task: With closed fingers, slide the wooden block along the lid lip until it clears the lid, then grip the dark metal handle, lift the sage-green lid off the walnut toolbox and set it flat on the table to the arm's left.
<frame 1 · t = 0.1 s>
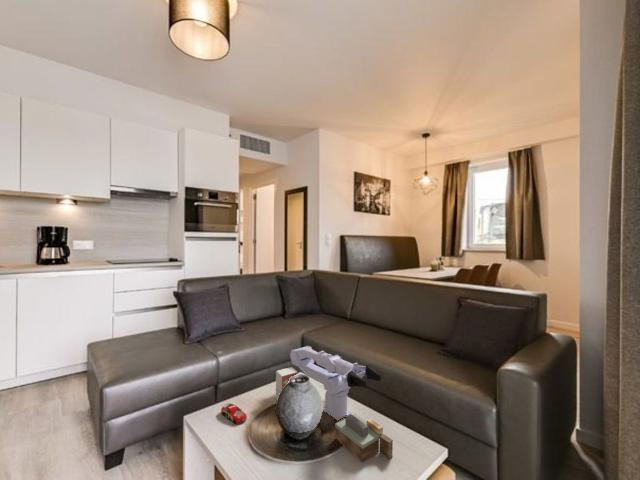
hand: (372, 381, 111), 22 cm above the table, tool horizontal, fingers open, 7 cm apart
small box: (286, 400, 137), on the table
toolbox: (356, 445, 108), on the table
race car: (233, 417, 124), on the table
wooden block: (374, 426, 108), point 7 cm above the table, slide at 0.0 cm
toolbox lid: (356, 435, 108), point 3 cm above the table, touching toolbox
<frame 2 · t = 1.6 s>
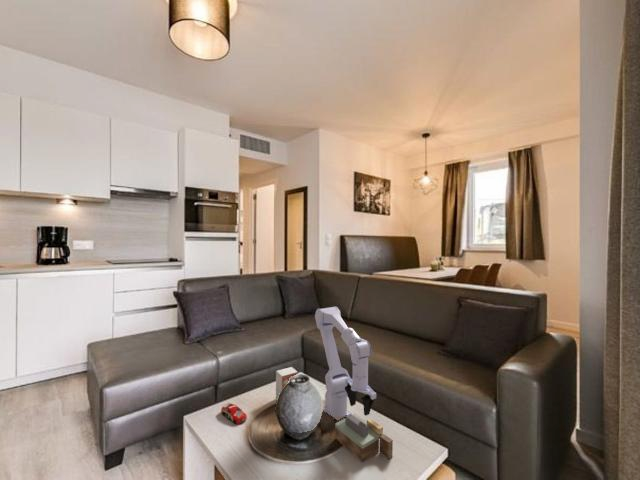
hand: (359, 409, 113), 9 cm above the table, tool pointing down, fingers open, 7 cm apart
nothing on the table moved.
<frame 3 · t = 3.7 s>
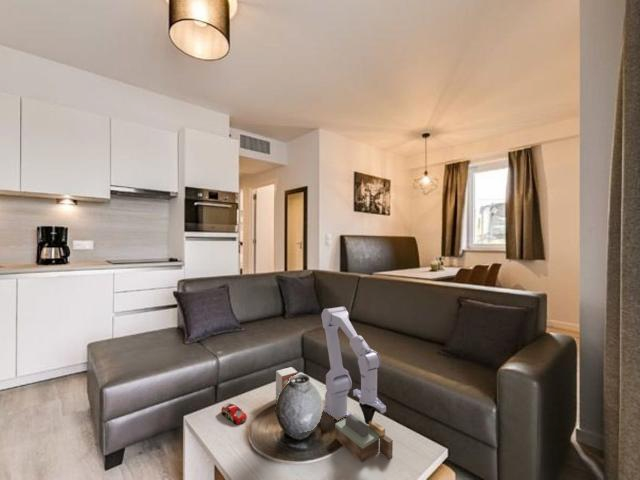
hand: (368, 422, 110), 7 cm above the table, tool pointing down, fingers closed
wooden block: (376, 427, 107), point 7 cm above the table, slide at 1.1 cm, touching gripper
everything else where it was.
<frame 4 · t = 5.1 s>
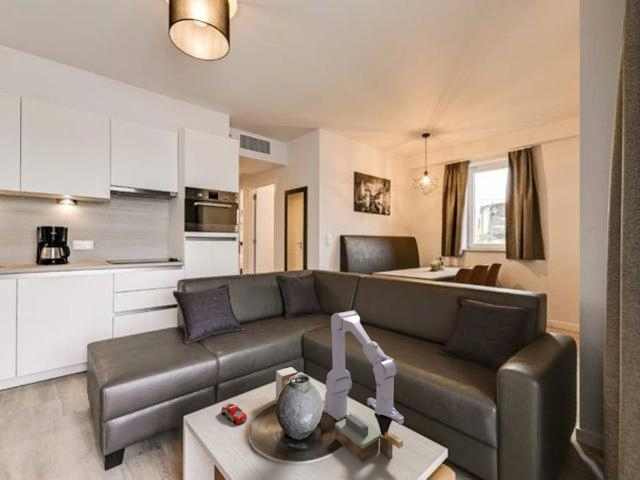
hand: (384, 433, 104), 7 cm above the table, tool pointing down, fingers closed
wooden block: (393, 439, 101), point 7 cm above the table, slide at 8.5 cm, touching gripper
everything else where it was.
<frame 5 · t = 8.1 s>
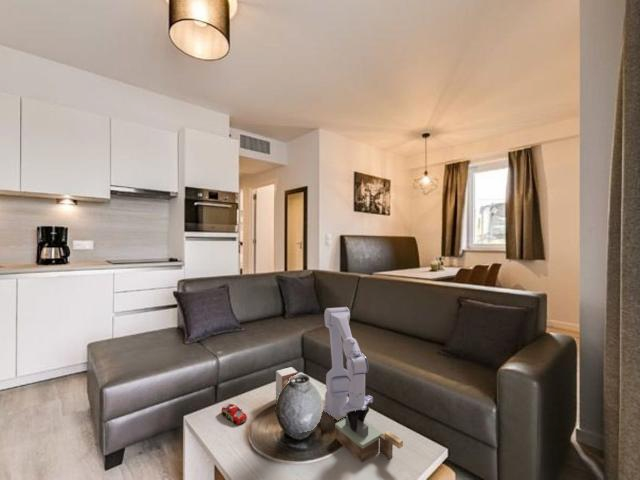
hand: (356, 428, 108), 6 cm above the table, tool pointing down, fingers closed on toolbox lid, 2 cm apart
wooden block: (393, 439, 101), point 7 cm above the table, slide at 8.5 cm
toolbox lid: (356, 435, 108), point 3 cm above the table, touching gripper, toolbox
everything else where it was.
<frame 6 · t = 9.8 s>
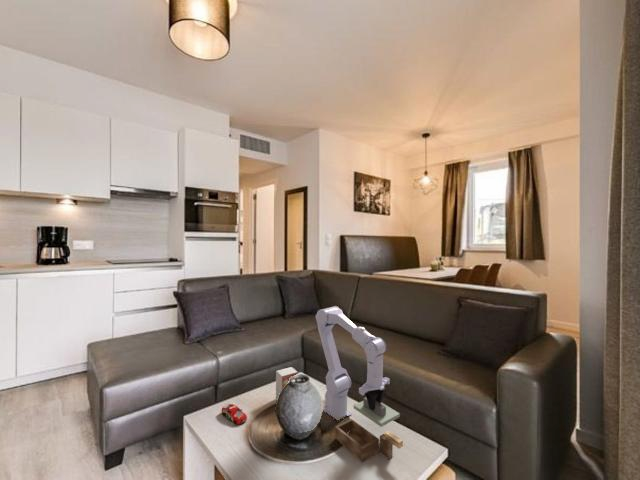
hand: (374, 407, 113), 10 cm above the table, tool pointing down, fingers closed on toolbox lid, 2 cm apart
toolbox lid: (374, 415, 113), point 7 cm above the table, touching gripper
everything else where it was.
when the fingers open (4 cm above the table, at t = 11.3 s): toolbox lid drops 1 cm, on the table.
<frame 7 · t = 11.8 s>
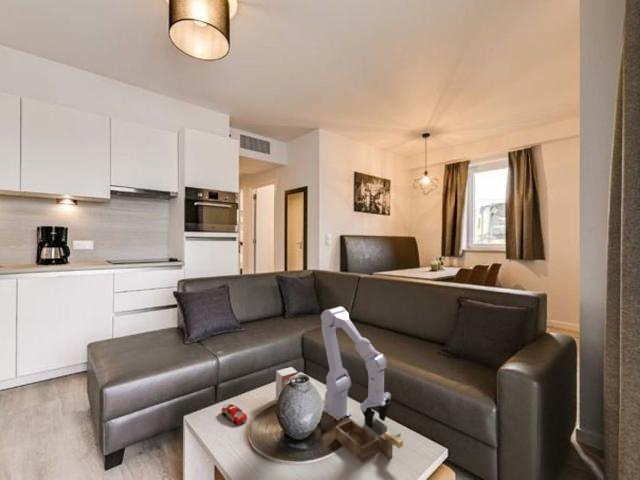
hand: (375, 423, 114), 4 cm above the table, tool pointing down, fingers open, 6 cm apart
toolbox lid: (375, 434, 114), on the table
everything else where it was.
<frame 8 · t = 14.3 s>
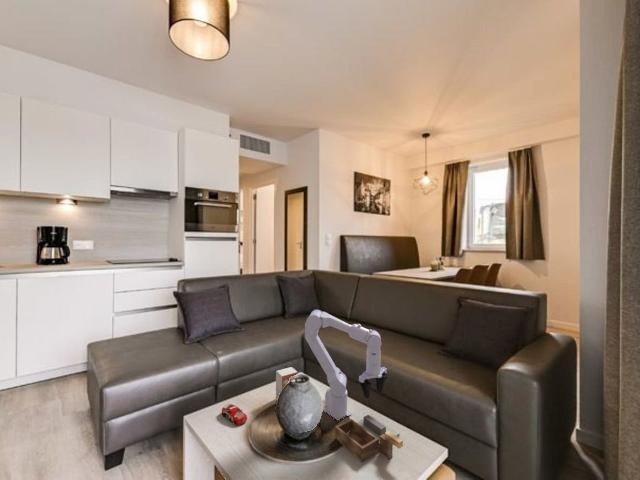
hand: (373, 394, 124), 9 cm above the table, tool pointing down, fingers open, 7 cm apart
nothing on the table moved.
at the end: wooden block slide at 8.5 cm; toolbox lid inside the target area (0.6 cm from its centre), on the table; toolbox lid tilted 0° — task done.
